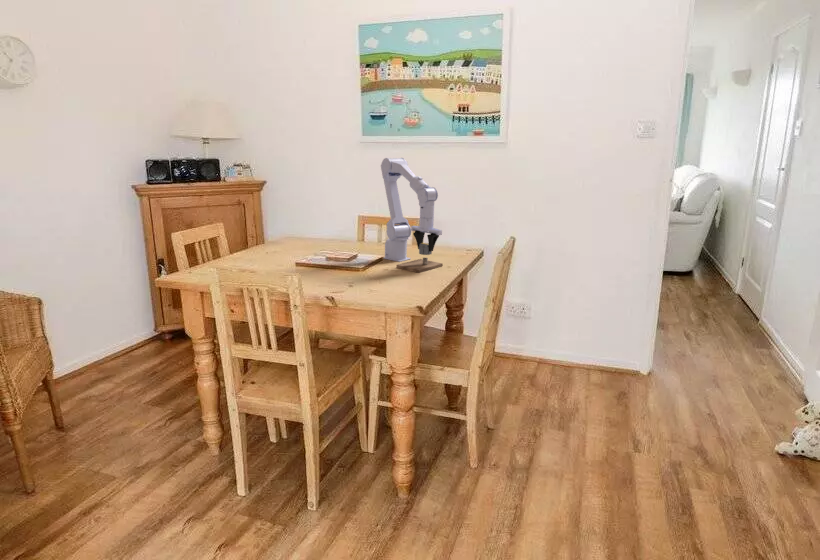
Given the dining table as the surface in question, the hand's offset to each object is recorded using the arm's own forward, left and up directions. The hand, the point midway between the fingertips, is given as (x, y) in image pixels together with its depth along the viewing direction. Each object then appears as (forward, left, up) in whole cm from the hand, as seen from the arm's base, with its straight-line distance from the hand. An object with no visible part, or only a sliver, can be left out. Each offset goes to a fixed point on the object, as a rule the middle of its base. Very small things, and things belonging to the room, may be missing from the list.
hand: (425, 250), depth 234 cm
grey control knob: (0, 0, -2) cm, 2 cm away
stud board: (-2, -1, -7) cm, 8 cm away
